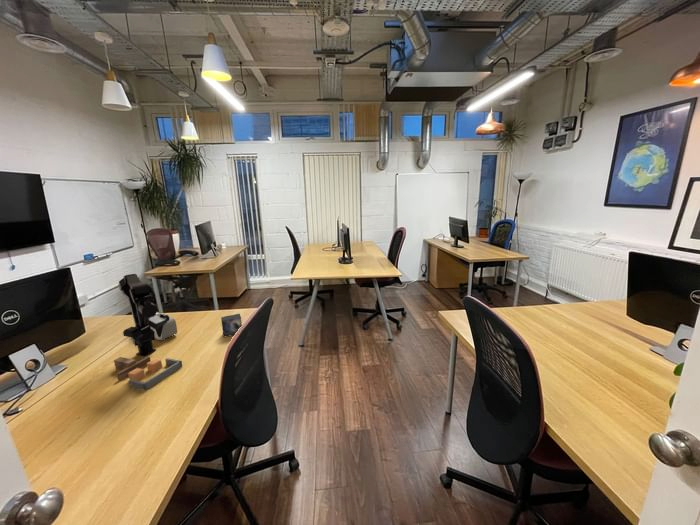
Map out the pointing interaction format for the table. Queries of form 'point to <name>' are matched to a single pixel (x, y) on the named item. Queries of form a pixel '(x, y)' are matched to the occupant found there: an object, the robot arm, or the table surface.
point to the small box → (231, 324)
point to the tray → (146, 385)
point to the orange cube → (154, 365)
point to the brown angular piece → (128, 366)
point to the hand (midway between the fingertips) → (150, 341)
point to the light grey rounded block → (167, 329)
